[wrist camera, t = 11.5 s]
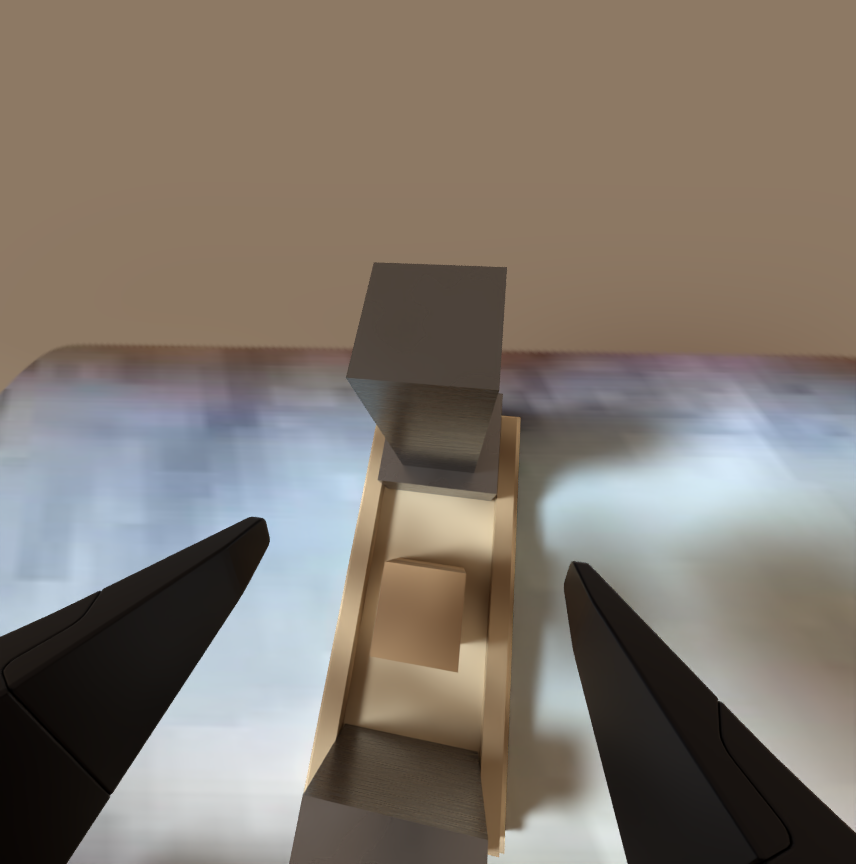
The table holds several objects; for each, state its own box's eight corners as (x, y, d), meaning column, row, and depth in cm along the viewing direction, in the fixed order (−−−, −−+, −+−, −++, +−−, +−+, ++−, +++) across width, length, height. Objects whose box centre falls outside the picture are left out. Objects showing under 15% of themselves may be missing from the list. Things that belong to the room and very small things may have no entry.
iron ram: (490, 501, 20) (552, 432, 7) (387, 488, 20) (289, 408, 8) (496, 413, 21) (553, 243, 9) (402, 404, 22) (340, 237, 10)
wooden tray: (500, 831, 16) (507, 875, 14) (311, 786, 17) (292, 820, 15) (517, 423, 23) (523, 411, 21) (383, 411, 24) (376, 398, 22)
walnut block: (456, 644, 17) (457, 672, 14) (387, 632, 18) (369, 656, 14) (463, 567, 19) (466, 573, 15) (398, 557, 19) (385, 561, 15)
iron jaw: (472, 831, 15) (481, 965, 10) (332, 797, 16) (280, 907, 11) (477, 751, 16) (488, 840, 11) (345, 723, 17) (302, 795, 12)
